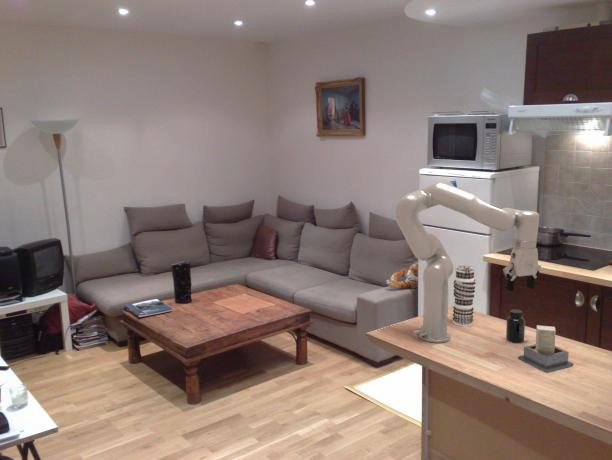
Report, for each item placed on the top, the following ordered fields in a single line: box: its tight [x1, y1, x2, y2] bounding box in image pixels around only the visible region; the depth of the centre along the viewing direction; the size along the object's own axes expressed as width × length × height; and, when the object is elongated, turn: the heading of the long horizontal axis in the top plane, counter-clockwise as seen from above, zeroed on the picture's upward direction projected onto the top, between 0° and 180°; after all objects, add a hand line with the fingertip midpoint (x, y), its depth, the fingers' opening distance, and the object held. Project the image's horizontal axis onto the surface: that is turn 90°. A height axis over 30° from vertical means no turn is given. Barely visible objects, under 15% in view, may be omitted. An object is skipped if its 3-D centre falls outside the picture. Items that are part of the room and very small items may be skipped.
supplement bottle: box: [505, 309, 526, 344], centre depth 221 cm, size 7×7×12 cm
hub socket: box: [517, 343, 574, 374], centre depth 200 cm, size 13×13×6 cm
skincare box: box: [535, 324, 556, 355], centre depth 200 cm, size 6×4×12 cm
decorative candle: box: [452, 265, 477, 327], centre depth 240 cm, size 9×9×25 cm
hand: (520, 289), depth 208 cm, fingers open, 9 cm apart
